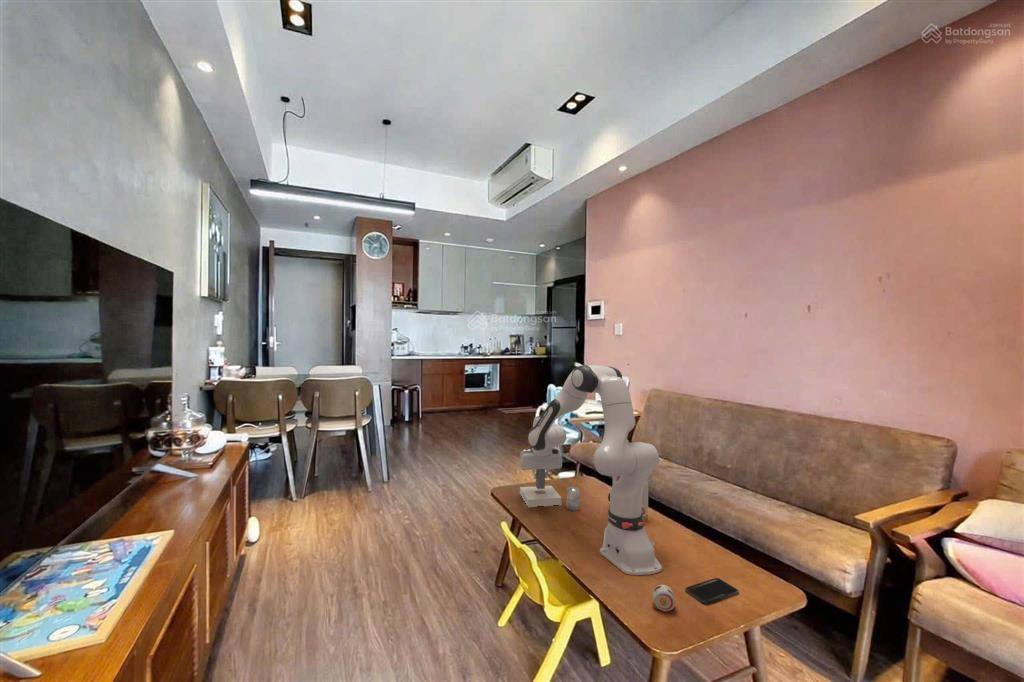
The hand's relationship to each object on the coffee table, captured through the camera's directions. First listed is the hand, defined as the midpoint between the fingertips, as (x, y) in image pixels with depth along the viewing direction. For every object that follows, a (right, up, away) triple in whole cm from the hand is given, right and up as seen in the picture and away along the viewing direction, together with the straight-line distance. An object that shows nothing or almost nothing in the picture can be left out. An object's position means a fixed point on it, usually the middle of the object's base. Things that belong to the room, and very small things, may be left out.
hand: (540, 478), depth 194 cm
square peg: (0, -5, 0) cm, 5 cm away
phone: (+48, -12, -70) cm, 85 cm away
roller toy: (+30, -11, -78) cm, 84 cm away
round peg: (+14, -11, -9) cm, 20 cm away
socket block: (0, -10, 0) cm, 10 cm away
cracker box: (+37, -11, -20) cm, 43 cm away
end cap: (+36, -11, -8) cm, 39 cm away
